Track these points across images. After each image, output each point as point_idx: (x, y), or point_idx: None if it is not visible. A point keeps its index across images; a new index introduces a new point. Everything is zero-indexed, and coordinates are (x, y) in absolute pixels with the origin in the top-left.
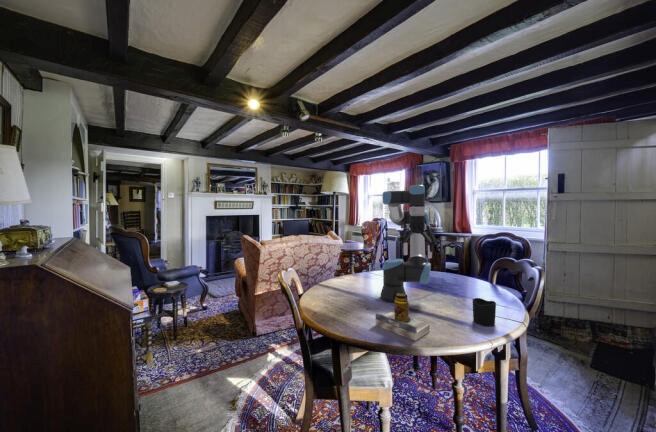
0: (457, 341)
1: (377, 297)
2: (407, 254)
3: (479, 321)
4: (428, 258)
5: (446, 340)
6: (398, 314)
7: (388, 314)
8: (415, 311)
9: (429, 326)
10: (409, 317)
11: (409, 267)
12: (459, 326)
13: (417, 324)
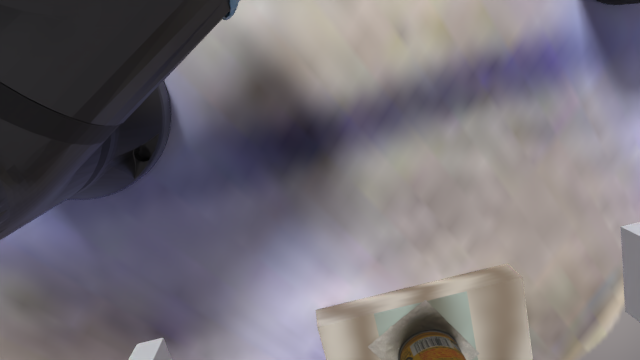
0: None
1: None
2: (163, 341)
3: (632, 3)
4: (636, 307)
5: (590, 265)
6: None
7: (336, 354)
8: (318, 149)
9: (519, 275)
10: (426, 307)
11: (89, 83)
12: (561, 108)
13: (488, 319)
